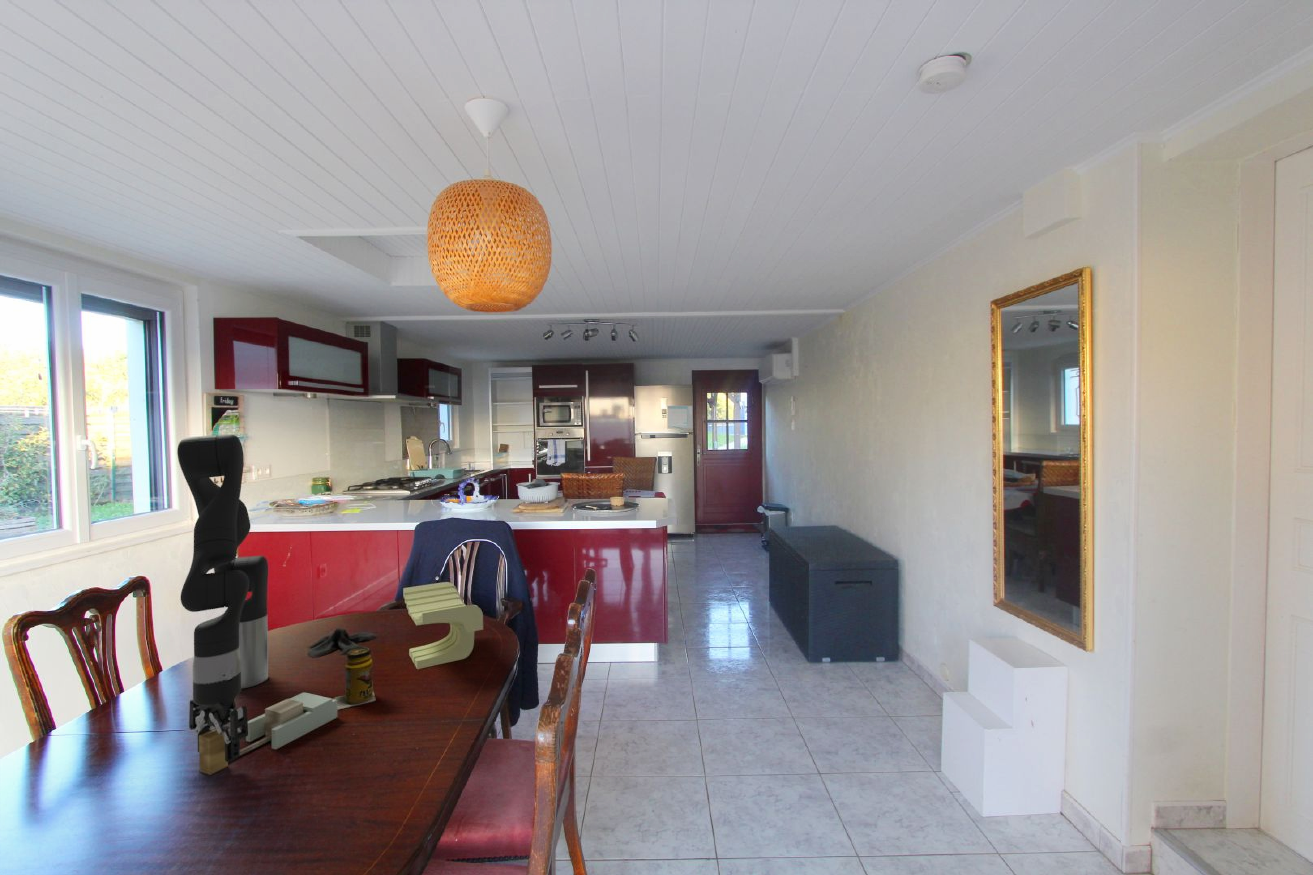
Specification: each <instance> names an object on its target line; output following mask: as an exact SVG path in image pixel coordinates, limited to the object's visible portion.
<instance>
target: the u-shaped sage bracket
mask: <svg viewBox="0 0 1313 875" xmlns="http://www.w3.org/2000/svg"><path fill="white" fill-rule="evenodd" d="M289 699H290V700H294V701H299V702H303V714H302V715H300V716H298V717H296V718H294V719H292V720H290V721H287V722H285V723H283V724H281V725H279V726H277V727H275V728H273V729H271V732H272V740H271V749H272V750H278V749H279V748H281V747H283V746H285V745H287V744H290V743H291V742H293V741H295V740H297V739H299V738H300V737H302V736H305V735H306V734H308V733H311V731H314V730H315V729H318V728H319V727H321V726H323V725H326V724H328V723H329V722H331V721H333V720H334V719H337V718H338V710H337V700H335V698H331V697H325V696H322V695H317V694H313V693H308V692H304V691H303V692H301V693H299V694H297V695H295V696H293V697H291V698H289ZM262 736H265V713H263V714H260V715H258V716H256V717H254V718H252V719H250V720H248V736H246V737H245V741H246V742H249V743H251V742H253V741H254V740H255V741H256V739H259V738H260V737H262Z"/></svg>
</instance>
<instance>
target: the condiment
mask: <svg viewBox="0 0 1313 875" xmlns="http://www.w3.org/2000/svg"><path fill="white" fill-rule="evenodd" d="M364 647H365V646H363V648H356V649H353V650H350V651H349V652H348V653H347V654H346V663H345V665H344V684H345V685H344V690H345V691H344V695H339V696H335V697H334V698H333V699H335V700H337V711H339V710H341V709H342V710H343V709H345V708H346V709H347V708H350V707H354V706H355V707H356V706H360V705H364V704H368V703H372V702H375V701H377V698H376V696H375V692H374V683H373V682H374V678H373V677H374V676H373V672H374V671H373V669H374V668H373V659H372V658H371V657H372V651H371V649H370V648H368V647H367V648H364Z"/></svg>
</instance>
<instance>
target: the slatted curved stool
mask: <svg viewBox="0 0 1313 875" xmlns="http://www.w3.org/2000/svg"><path fill="white" fill-rule="evenodd" d="M403 599H404V603H405V604H406V609H407V611H408V615H409V616H410V617H411V619H412V621H413V622H414V624H415V626H423V625H429V624H442V623H443V624H444V623H445V624H449V626H450V627H449V628H450V629H449V633H448V634H447V636H445V637H444V638H442V639H440V640H438V641H435V642H432V643H429V644H425V645H420V646H416V647H412V648H409V650H408V652H409V653H408V655H409V657H410V658H411V660H412V663H413V664H414V666H415V668H416V669H417V670H421V669H424V668H429V667H434V666H438V665H442V664H446V663H451V662H455V661H461V660H465V659H466V658H468V657H469V656H470V654H472V651H473V649H474V646H475V632H477V631H478V632H479V631H482V630H484V614H483V611H482V608H480V607H479V606H478V605H476V604H469V605H466V604H465V603H464V602H463V599H462V597H461V596H460V593H459V591H458V588H457V586H455V585H454V584H453V583H451V582H449V581H445V582H443V581H442V582H438V583H437V582H435V583H429V584H423V585H416V586H410V587H404V588H403Z"/></svg>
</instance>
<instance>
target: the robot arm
mask: <svg viewBox="0 0 1313 875" xmlns="http://www.w3.org/2000/svg"><path fill="white" fill-rule="evenodd" d="M176 451H177V452H176V454H177V459H178V463H179V467H180V469H181V473H182V475H183V477H184V479H185V481H186V484H187V486H188V487H189V490H190V492H191V494H192V497H193V499H194V503H195V507H196V511H197V514H198V517H197V519H196V522H195V524H194V529H193V555H192V561H191V565H190V568H189V571H188V573H187V576H186V578H185V581H184V583H183V584H182V585H183V586H182V589H181V592H180V603H181V605H182V607H183V608H184V609H185V610H186V611H188V612H190V613H191V612H193V613H194V612H203V611H209V610H215V609H216V610H217V609H223V608H227V609H225V611H224V612H223V613H222V614H220V615H219V616H216V617H214V618H211V619H209V620H206V621H203V622H201V623H199V624H198V625H196V627H195V628H194V631H193V664H192V699H191V700H189V716H188V717H189V720H188V721H189V722H188V723H189V725H188V726H189V728H188V729H190V731H192V730H194V734H195V735H196V736H197V753H199V736H200V735H202V734H204V733H206V732H209V731H211V730H212V728H214V729H215V728H216V729H217V732H218V734H222V735H223V738H224V740H225V742H226V743H225V761H226V762H228V763H231V762H233V761H235V760H237V759H239V758H240V756H239V755H240V750H241V749H240V741H241V740H242V739H244V738H246V736H248V721H249V720H248V708H247V706H246V705H242V706H239V707H238V706H237V704H236V701H235V700H236V697H237V696H239V694H241V691H242V689H246V688H251V687H254V686H257V685H259V684H262V683H264V682H265V681H267V680H268V678H269V636H268V634H269V631H268V629H269V627H268V625H269V624H268V583H269V562H268V559H267V558H266V556H264V555H253V556H239V557H237V555H238V548H239V547H240V545H241V544H242V543H243V542H244V541H245V539H246V538H247V537H248V535H249V533H250V530H251V520H250V517H249V512H248V508H247V506H246V504H245V503H244V502H243V500H241V498H240V497H241V491H242V490H241V489H242V482H243V476H244V475H243V473H244V466H245V465H244V462H245V458H244V449H243V445H242V442H241V440H240V438H239V437H238V436H237V435H235V434H214V435H200V436H192V437H191V436H190V437H186V438H183V439H182V440H180V441H179V442H178V446H177V450H176ZM217 477H223V481H222V484H221V486H219V485H218V484H217V483H216V482H214V481H213V480H212V479H211V478H217ZM210 570H213V572H210V573H208V572H209V571H210ZM250 592H251V596H250V597H248V593H250ZM247 597H248V598H247ZM198 716H199V717H198ZM197 717H198V719H197ZM229 732H230V733H229Z"/></svg>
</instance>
